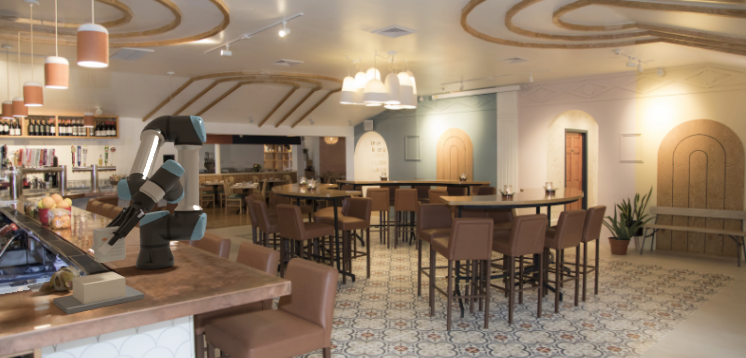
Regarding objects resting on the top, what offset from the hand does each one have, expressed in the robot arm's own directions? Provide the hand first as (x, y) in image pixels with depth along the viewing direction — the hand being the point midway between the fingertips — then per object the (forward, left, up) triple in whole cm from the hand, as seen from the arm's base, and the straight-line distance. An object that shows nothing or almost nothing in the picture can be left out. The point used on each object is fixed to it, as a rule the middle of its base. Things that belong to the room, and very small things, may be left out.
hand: (97, 251), depth 152 cm
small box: (0, +4, -4) cm, 5 cm away
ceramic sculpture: (-25, -4, -17) cm, 30 cm away
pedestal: (-1, +1, -16) cm, 17 cm away
